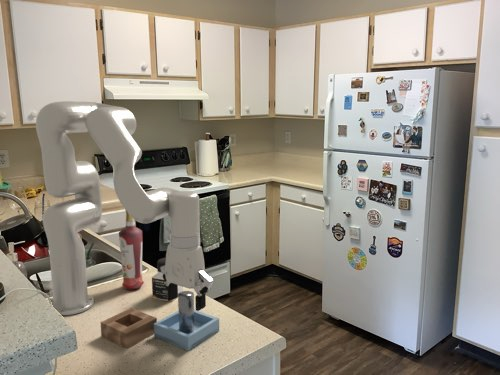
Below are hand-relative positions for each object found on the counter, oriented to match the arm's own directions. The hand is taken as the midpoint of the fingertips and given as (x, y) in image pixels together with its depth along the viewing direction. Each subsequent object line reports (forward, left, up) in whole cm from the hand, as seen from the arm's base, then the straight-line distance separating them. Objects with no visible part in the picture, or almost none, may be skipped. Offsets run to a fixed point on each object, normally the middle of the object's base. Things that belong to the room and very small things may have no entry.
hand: (186, 303), depth 115 cm
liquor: (-35, +12, -8) cm, 38 cm away
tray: (0, 0, -8) cm, 8 cm away
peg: (0, 0, -7) cm, 7 cm away
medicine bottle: (-21, +14, -8) cm, 27 cm away
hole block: (-12, -9, -8) cm, 17 cm away
